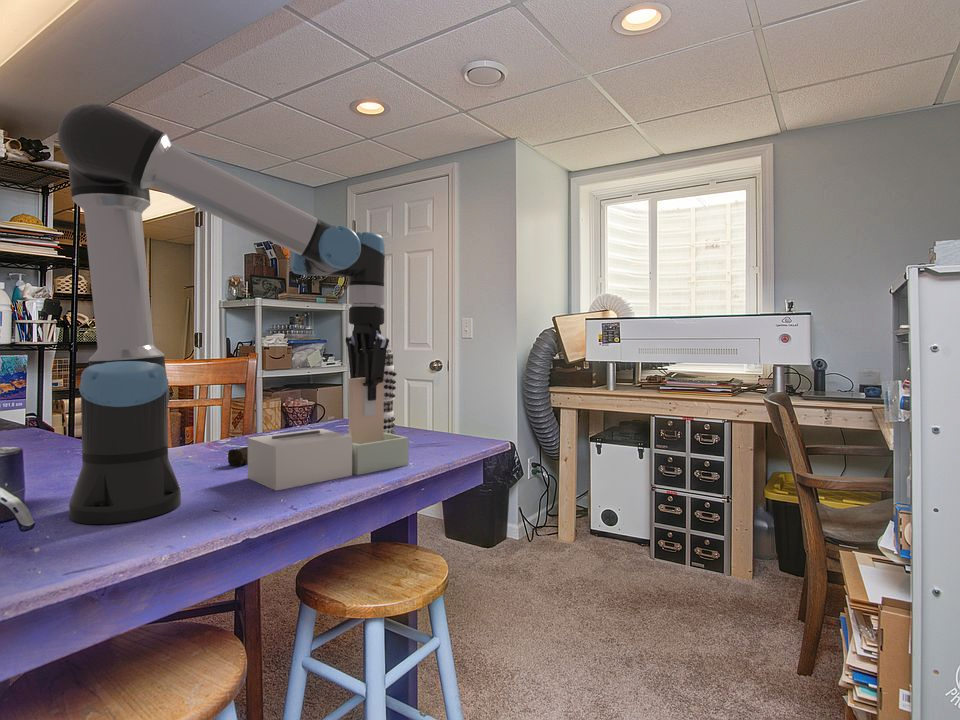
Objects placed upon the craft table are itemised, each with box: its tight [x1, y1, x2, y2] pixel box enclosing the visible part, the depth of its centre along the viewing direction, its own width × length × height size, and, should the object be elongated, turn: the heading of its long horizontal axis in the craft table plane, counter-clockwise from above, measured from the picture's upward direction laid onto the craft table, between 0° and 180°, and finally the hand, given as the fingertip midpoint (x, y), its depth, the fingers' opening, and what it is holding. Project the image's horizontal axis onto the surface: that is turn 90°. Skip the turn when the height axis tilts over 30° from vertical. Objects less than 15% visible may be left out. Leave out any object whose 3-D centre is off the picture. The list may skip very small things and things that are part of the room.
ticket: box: [348, 378, 384, 444], centre depth 122 cm, size 8×2×16 cm, turn 136°
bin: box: [345, 432, 410, 476], centre depth 123 cm, size 13×13×6 cm
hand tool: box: [227, 446, 248, 468], centre depth 128 cm, size 19×4×5 cm, turn 155°
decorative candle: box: [372, 347, 398, 435], centre depth 144 cm, size 9×9×25 cm
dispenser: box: [247, 428, 353, 491], centre depth 111 cm, size 16×12×8 cm
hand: (366, 414), depth 122 cm, fingers closed on ticket, 1 cm apart
